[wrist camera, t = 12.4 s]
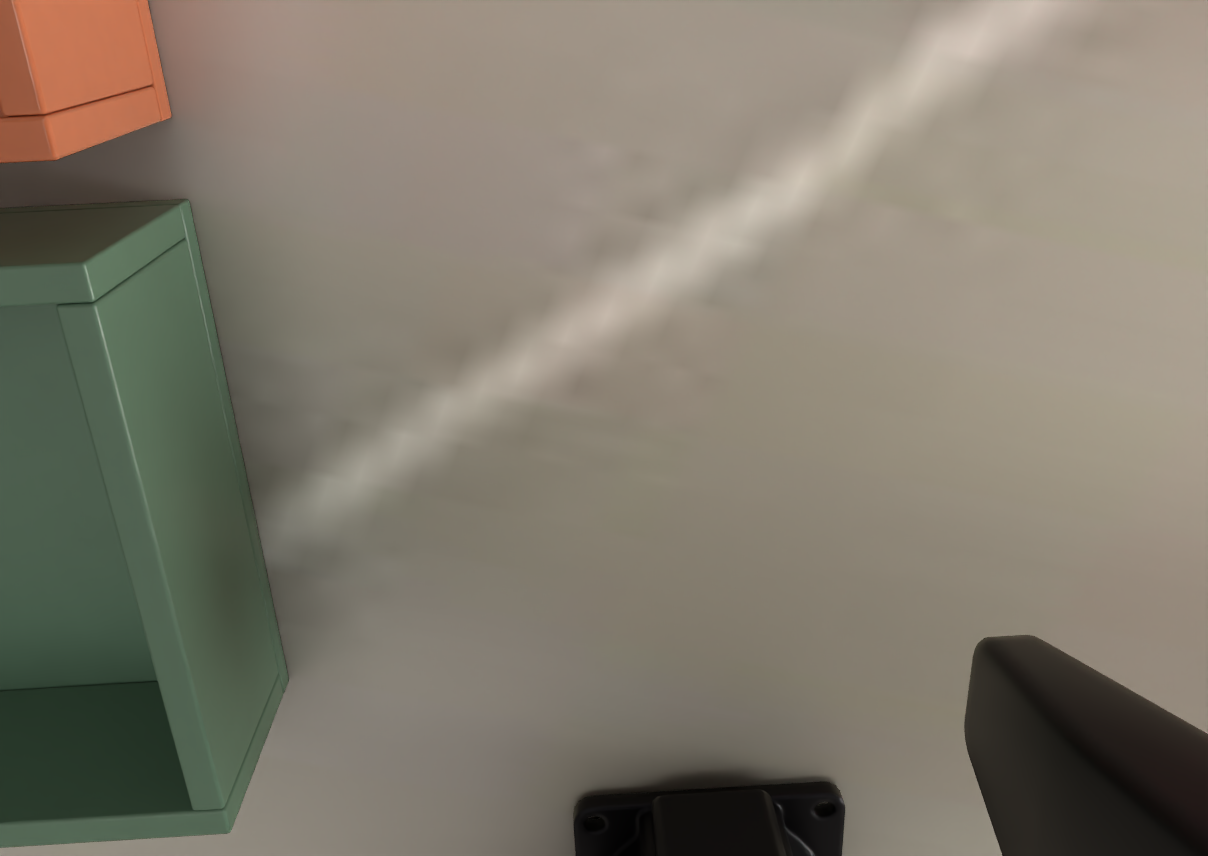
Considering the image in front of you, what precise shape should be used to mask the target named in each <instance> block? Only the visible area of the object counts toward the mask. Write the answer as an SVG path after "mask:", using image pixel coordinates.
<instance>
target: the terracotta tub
mask: <svg viewBox="0 0 1208 856" xmlns="http://www.w3.org/2000/svg"><path fill="white" fill-rule="evenodd" d="M170 118H171V111H170V106H169V101H168V96H167V92H166V87H165V82H164V77H163V72H162V67H161V63H160V58H159V53H158V48H157V43H156V39H155V34H154V29H153V24H152V19H151V15H150V10H149V5H148V0H0V163H16V162H36V161H55V160H58V159H61V158H63V157H66V156H69V155H72V154H74V153H77V152H80V151H82V150H85V149H88V148H91V147H93V146H96V145H99V144H101V143H104V142H107V141H109V140H112V139H115V138H118V137H120V136H123V135H126V134H128V133H131V132H134V131H136V130H139V129H142V128H145V127H147V126H150V125H153V124H155V123H158V122H162V121H165V120H167V119H170Z"/></svg>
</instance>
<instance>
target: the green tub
mask: <svg viewBox="0 0 1208 856" xmlns="http://www.w3.org/2000/svg"><path fill="white" fill-rule="evenodd" d="M288 681H289V678H288V674H287V669H286V664H285V659H284V654H283V650H282V645H281V640H280V635H279V630H278V626H277V621H276V616H275V611H274V606H273V602H272V597H271V592H270V587H269V582H268V578H267V573H266V568H265V563H264V558H263V554H262V549H261V544H260V539H259V534H258V529H257V525H256V520H255V515H254V510H253V505H252V501H251V496H250V491H249V486H248V481H247V477H246V472H245V467H244V462H243V457H242V453H241V448H240V443H239V438H238V433H237V429H236V424H235V419H234V414H233V409H232V405H231V400H230V395H229V390H228V385H227V381H226V376H225V371H224V366H223V361H222V357H221V352H220V347H219V342H218V337H217V333H216V328H215V323H214V318H213V313H212V309H211V304H210V299H209V294H208V289H207V284H206V280H205V275H204V270H203V265H202V260H201V256H200V251H199V246H198V241H197V236H196V232H195V227H194V222H193V217H192V212H191V208H190V203H189V200H187V199H177V200H157V201H137V202H117V203H97V204H77V205H57V206H37V207H17V208H0V848H5V847H21V846H37V845H53V844H69V843H85V842H101V841H117V840H133V839H148V838H164V837H180V836H196V835H212V834H227V833H230V832H231V830H232V827H233V824H234V822H235V819H236V817H237V814H238V811H239V809H240V806H241V803H242V801H243V798H244V796H245V793H246V790H247V788H248V785H249V783H250V780H251V777H252V775H253V772H254V769H255V767H256V764H257V762H258V759H259V756H260V754H261V751H262V748H263V746H264V743H265V741H266V738H267V735H268V733H269V730H270V728H271V725H272V722H273V720H274V717H275V714H276V712H277V709H278V707H279V704H280V701H281V699H282V696H283V693H284V692H285V689H286V686H287V684H288Z"/></svg>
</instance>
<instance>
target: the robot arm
mask: <svg viewBox="0 0 1208 856" xmlns="http://www.w3.org/2000/svg"><path fill="white" fill-rule="evenodd" d="M964 728H965V740H966V746H967V750H968V754H969V757H970V760H971V763H972V766H973V769H974V772H975V775H976V778H977V781H978V784H979V787H980V790H981V793H982V796H983V799H984V802H985V805H986V808H987V811H988V814H989V817H990V820H991V822H992V825H993V828H994V831H995V834H996V837H997V840H998V843H999V846H1000V849H1001V852H1002V855H1003V856H1208V734H1207V733H1205V732H1203V731H1202V730H1200V729H1198V728H1196V727H1195V726H1193V725H1191V724H1189V723H1188V722H1186V721H1184V720H1182V719H1180V718H1179V717H1177V716H1175V715H1173V714H1172V713H1170V712H1168V711H1166V710H1165V709H1163V708H1161V707H1159V706H1158V705H1156V704H1154V703H1152V702H1151V701H1149V700H1147V699H1145V698H1143V697H1142V696H1140V695H1138V694H1136V693H1135V692H1133V691H1131V690H1129V689H1128V688H1126V687H1124V686H1122V685H1121V684H1119V683H1117V682H1115V681H1114V680H1112V679H1110V678H1108V677H1106V676H1105V675H1103V674H1101V673H1099V672H1098V671H1096V670H1094V669H1092V668H1091V667H1089V666H1087V665H1085V664H1084V663H1082V662H1080V661H1078V660H1077V659H1075V658H1073V657H1071V656H1069V655H1068V654H1066V653H1064V652H1062V651H1061V650H1059V649H1057V648H1055V647H1054V646H1052V645H1050V644H1048V643H1047V642H1045V641H1043V640H1041V639H1039V638H1037V637H1035V636H1031V635H1017V636H1001V637H987V638H984V639H983V640H981V641H980V642H979V643H978V644H977V646H976V648H975V651H974V655H973V661H972V668H971V676H970V684H969V691H968V699H967V706H966V714H965V723H964ZM821 802H827V803H826V804H824V805H820V806H819V805H817V804H819V803H821ZM593 816H597V817H601V818H599V819H596V820H592V819H588V818H589V817H593ZM573 817H574V837H575V851H576V856H842V845H843V831H844V817H845V805H844V801H843V798H842V795H841V792H840V790H839V789H838V788H837V786H836V785H834V784H832V783H830V782H807V783H791V784H775V785H759V786H743V787H727V788H711V789H695V790H679V791H663V792H647V793H631V794H615V795H599V796H590V797H586V798H584V799H582V800H580V801H579V802H578V803H577V804H576V806H575V807H574V813H573Z"/></svg>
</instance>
